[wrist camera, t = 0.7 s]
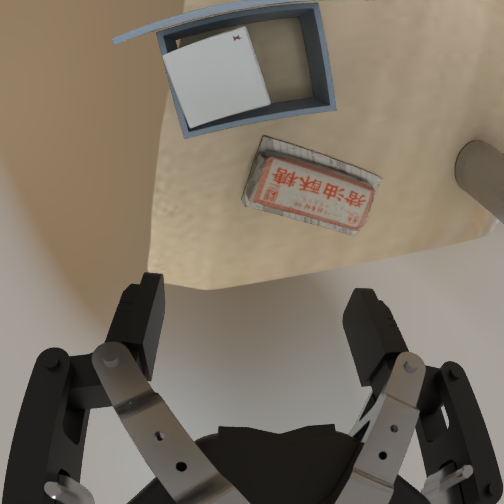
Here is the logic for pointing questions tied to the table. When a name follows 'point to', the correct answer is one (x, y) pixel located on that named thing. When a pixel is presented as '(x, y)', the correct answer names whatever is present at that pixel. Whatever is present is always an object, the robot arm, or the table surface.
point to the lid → (198, 16)
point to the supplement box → (217, 77)
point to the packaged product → (309, 187)
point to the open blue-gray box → (319, 103)
